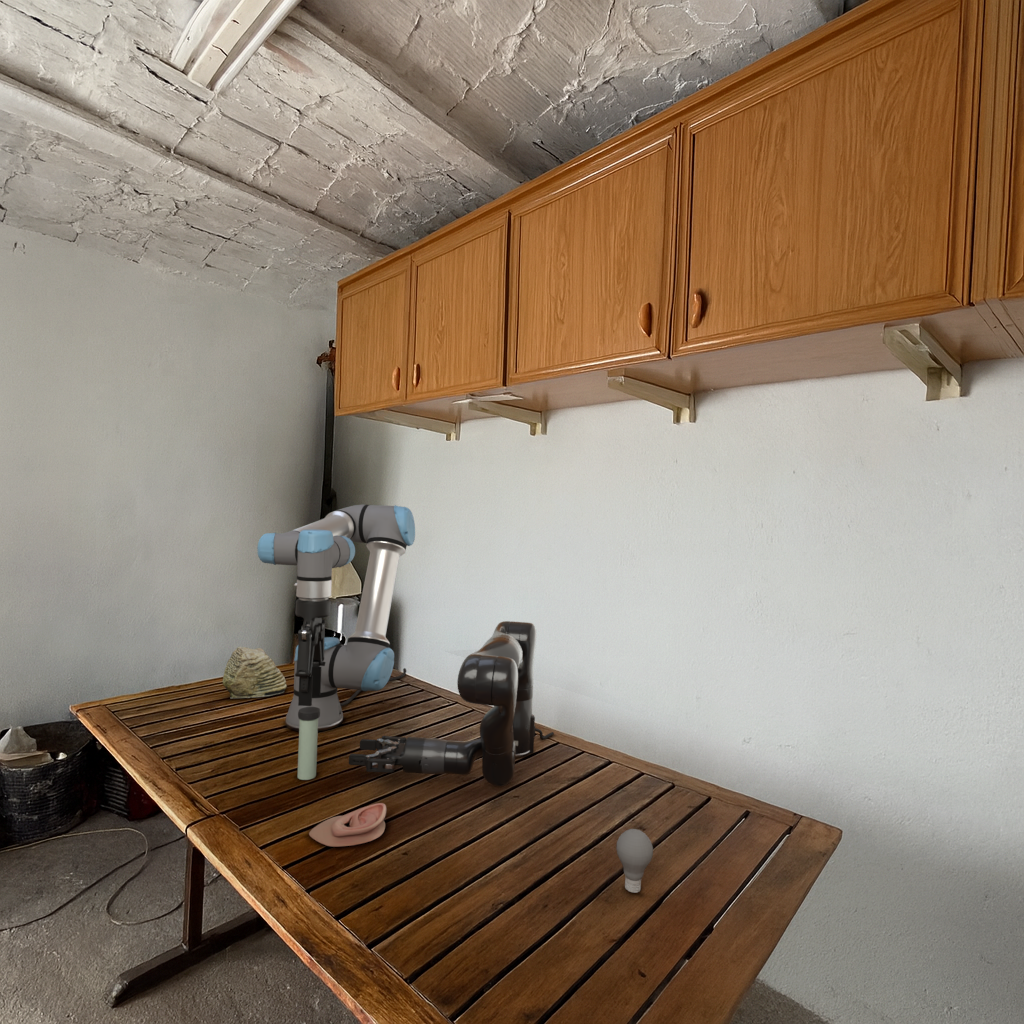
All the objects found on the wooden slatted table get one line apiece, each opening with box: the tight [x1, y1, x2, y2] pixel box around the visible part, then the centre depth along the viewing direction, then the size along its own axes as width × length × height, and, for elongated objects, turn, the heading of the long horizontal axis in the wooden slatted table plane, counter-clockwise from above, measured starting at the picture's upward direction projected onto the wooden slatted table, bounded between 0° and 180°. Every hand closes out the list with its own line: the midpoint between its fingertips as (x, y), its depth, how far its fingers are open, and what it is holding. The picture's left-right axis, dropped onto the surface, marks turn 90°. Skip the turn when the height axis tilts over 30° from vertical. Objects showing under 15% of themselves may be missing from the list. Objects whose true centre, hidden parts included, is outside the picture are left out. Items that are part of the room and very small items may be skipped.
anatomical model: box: [308, 802, 387, 848], centre depth 120 cm, size 13×4×12 cm
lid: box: [298, 707, 320, 720], centre depth 143 cm, size 5×5×2 cm
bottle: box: [296, 718, 319, 781], centre depth 143 cm, size 4×4×15 cm
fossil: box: [222, 646, 288, 699], centre depth 198 cm, size 9×18×15 cm, turn 132°
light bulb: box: [615, 828, 654, 894], centre depth 106 cm, size 6×6×10 cm
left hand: (309, 699), depth 143 cm, fingers open, 7 cm apart
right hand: (354, 751), depth 143 cm, fingers open, 8 cm apart
